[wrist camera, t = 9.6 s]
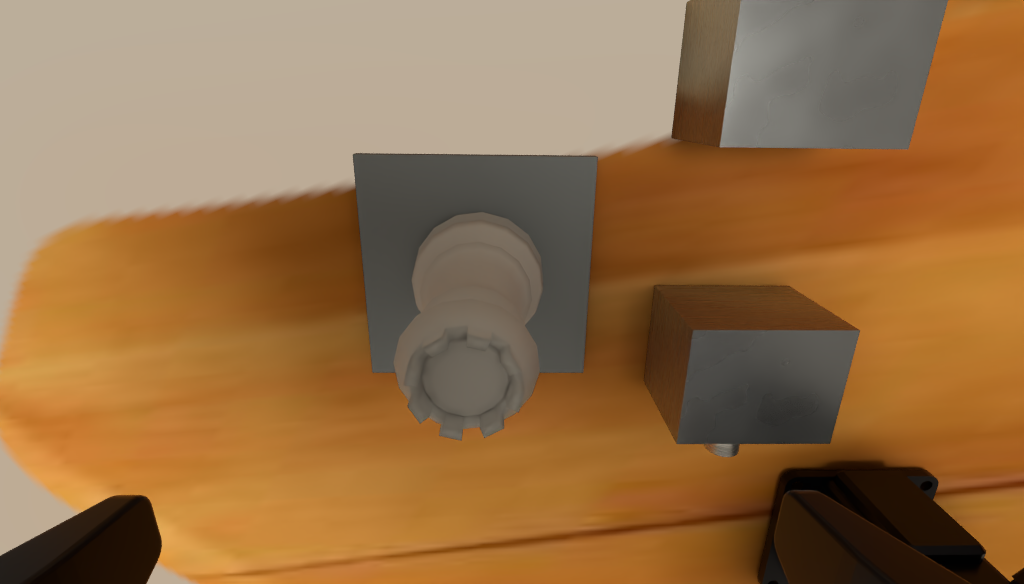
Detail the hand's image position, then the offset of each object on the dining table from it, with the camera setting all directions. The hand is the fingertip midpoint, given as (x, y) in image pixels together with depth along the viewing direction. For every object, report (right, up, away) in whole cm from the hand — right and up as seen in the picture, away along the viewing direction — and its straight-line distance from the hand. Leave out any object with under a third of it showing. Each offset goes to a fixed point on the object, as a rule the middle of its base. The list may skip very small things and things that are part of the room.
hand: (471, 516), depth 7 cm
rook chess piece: (-1, +4, +11) cm, 12 cm away
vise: (+8, +6, +11) cm, 15 cm away
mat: (-1, +4, +11) cm, 12 cm away
